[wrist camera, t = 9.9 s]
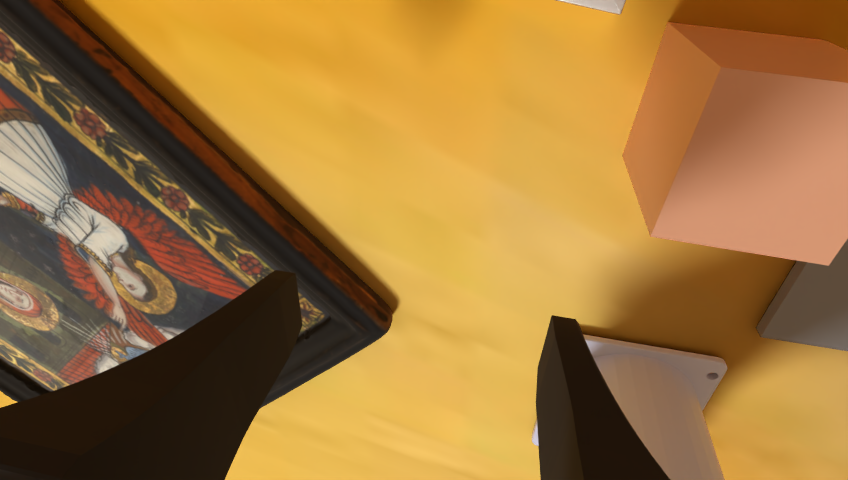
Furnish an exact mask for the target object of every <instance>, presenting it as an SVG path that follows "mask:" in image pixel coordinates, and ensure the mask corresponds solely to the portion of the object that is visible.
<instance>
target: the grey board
mask: <svg viewBox="0 0 848 480" xmlns="http://www.w3.org/2000/svg"><path fill="white" fill-rule="evenodd" d="M756 329H757V331H758V333H759V335H760V337H764V338H770V339H776V340H782V341H788V342H795V343H801V344H807V345H813V346H819V347H825V348H832V349H838V350H844V351H848V239H847V240H846V242H845V243H844V245H843V246H842V247H841V249H840V250H839V252H838V253H837V255H836V256H835V257H834V259H833V260H832V262H831V263H830V265H829V266H827V265H821V264H815V263H809V262H803V261H796V263H795V264H794V266H793V268H792V269H791V271H790V273H789V274H788V276H787V278H786V279H785V281H784V283H783V284H782V286H781V287H780V289H779V291H778V292H777V294H776V296H775V297H774V299H773V301H772V302H771V304H770V306H769V307H768V309H767V310H766V312H765V314H764V315H763V317H762V319H761V320H760V322H759V324H758V325H757V327H756Z"/></svg>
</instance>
